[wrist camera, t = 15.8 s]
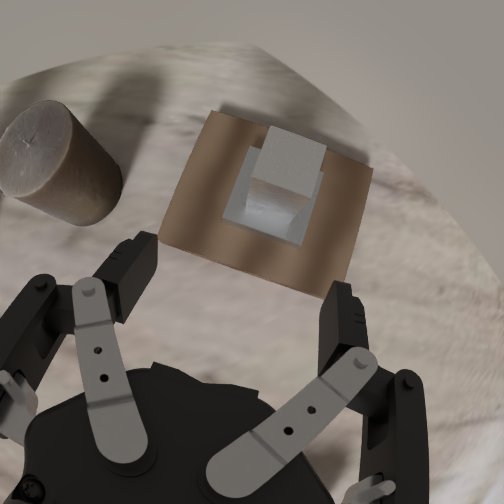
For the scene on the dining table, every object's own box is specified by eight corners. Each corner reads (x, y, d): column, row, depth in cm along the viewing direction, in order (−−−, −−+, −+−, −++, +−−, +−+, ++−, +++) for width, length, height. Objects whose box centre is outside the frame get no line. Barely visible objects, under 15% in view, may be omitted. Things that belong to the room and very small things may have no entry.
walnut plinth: (162, 242, 35) (156, 238, 32) (212, 122, 37) (211, 110, 34) (329, 301, 35) (337, 302, 32) (363, 177, 37) (373, 168, 35)
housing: (222, 222, 33) (218, 190, 22) (248, 155, 34) (256, 100, 23) (296, 248, 33) (327, 229, 22) (317, 180, 34) (352, 136, 23)
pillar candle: (133, 160, 36) (85, 94, 21) (107, 236, 35) (37, 203, 20) (73, 148, 36) (14, 91, 21) (46, 217, 34) (-29, 184, 20)
